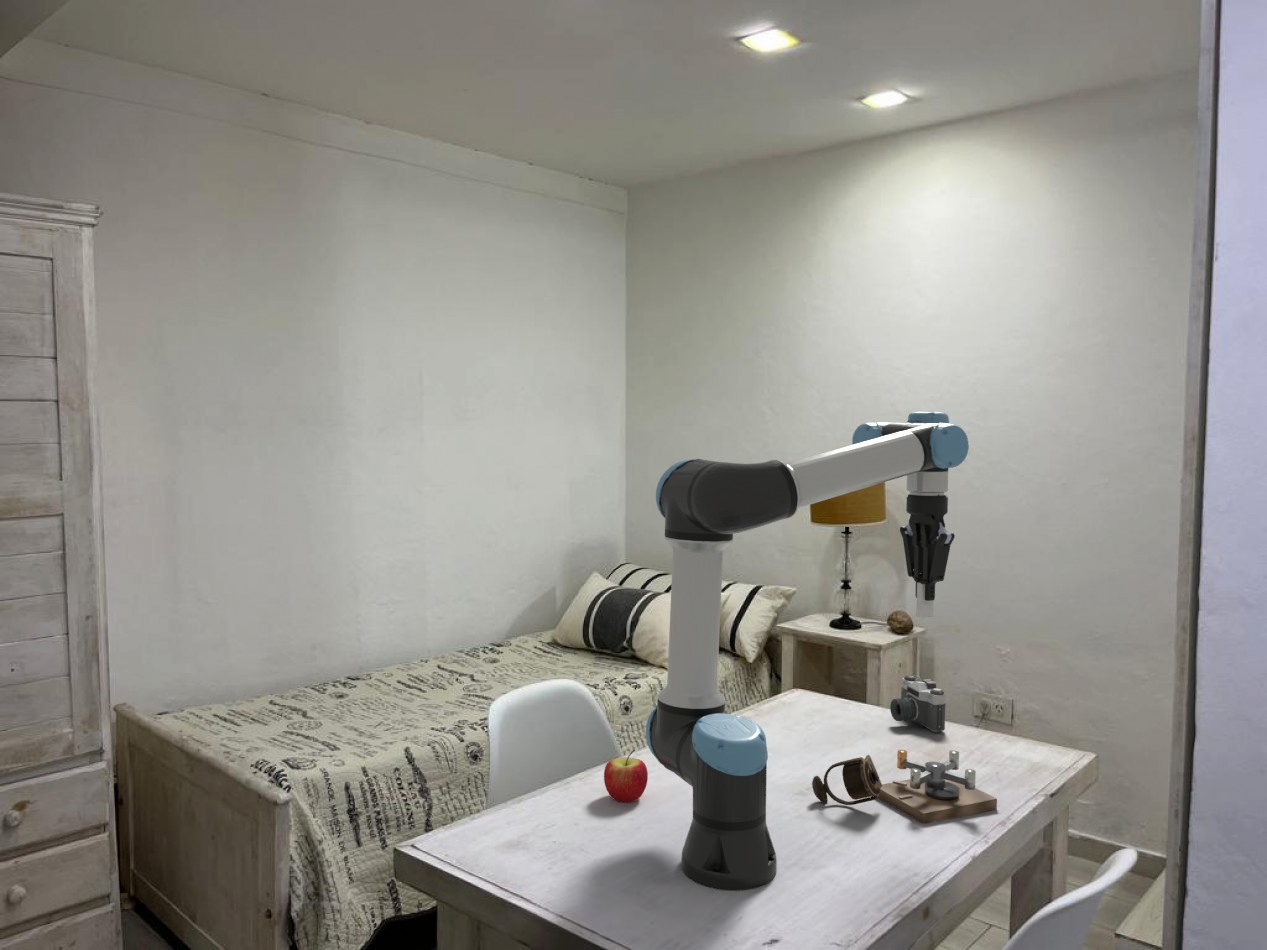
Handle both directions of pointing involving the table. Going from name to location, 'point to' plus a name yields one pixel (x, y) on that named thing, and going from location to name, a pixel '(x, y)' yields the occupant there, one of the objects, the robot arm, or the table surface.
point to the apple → (625, 778)
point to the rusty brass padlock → (852, 781)
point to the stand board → (935, 802)
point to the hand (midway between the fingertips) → (924, 616)
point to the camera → (920, 703)
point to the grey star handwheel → (937, 776)
